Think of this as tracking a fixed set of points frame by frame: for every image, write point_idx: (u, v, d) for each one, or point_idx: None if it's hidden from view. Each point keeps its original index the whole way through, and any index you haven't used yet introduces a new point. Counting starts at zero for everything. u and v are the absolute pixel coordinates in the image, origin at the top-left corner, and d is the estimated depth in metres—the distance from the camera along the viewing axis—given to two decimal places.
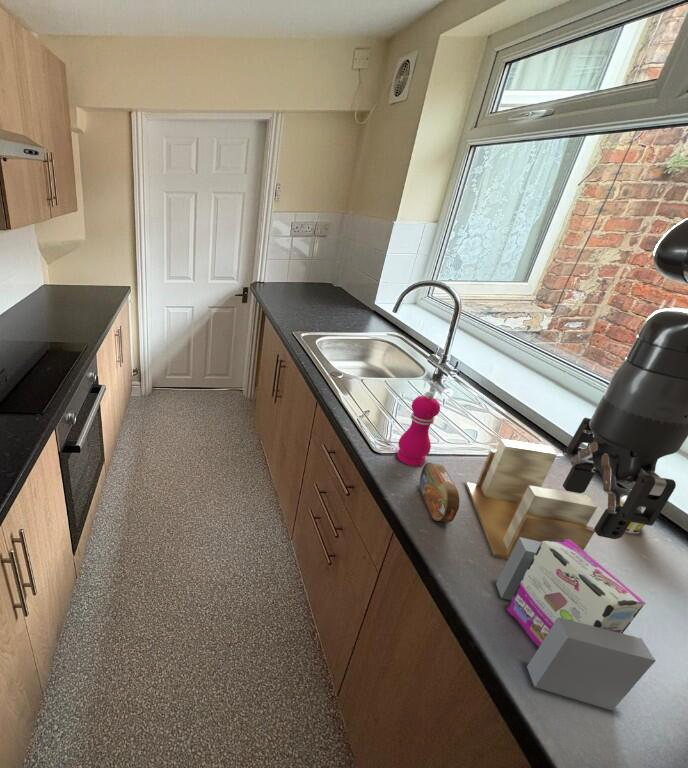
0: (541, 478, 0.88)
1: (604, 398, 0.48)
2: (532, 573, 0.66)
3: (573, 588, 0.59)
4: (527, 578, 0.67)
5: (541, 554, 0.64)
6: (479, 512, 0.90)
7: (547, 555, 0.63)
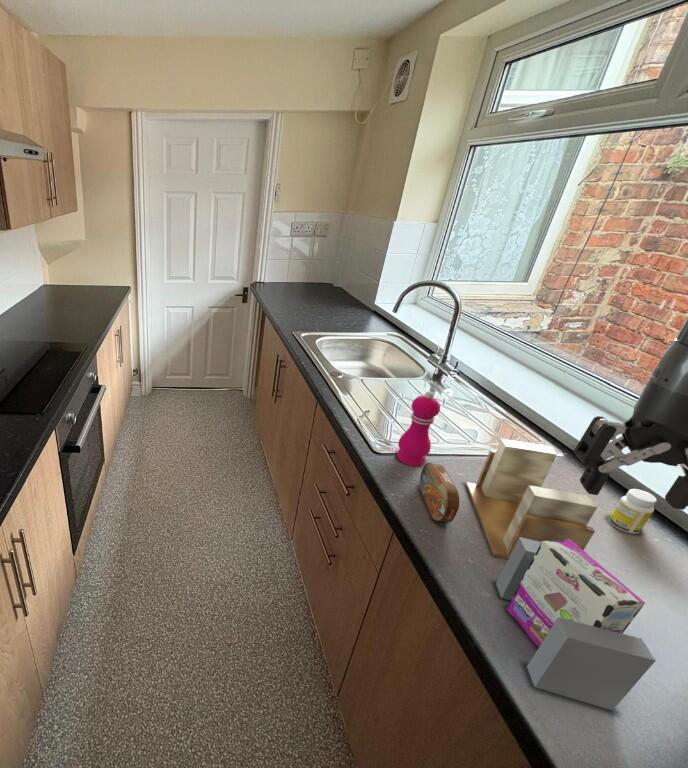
0: (541, 478, 0.88)
1: None
2: (532, 573, 0.66)
3: (573, 588, 0.59)
4: (527, 578, 0.67)
5: (541, 554, 0.64)
6: (479, 512, 0.90)
7: (547, 554, 0.63)
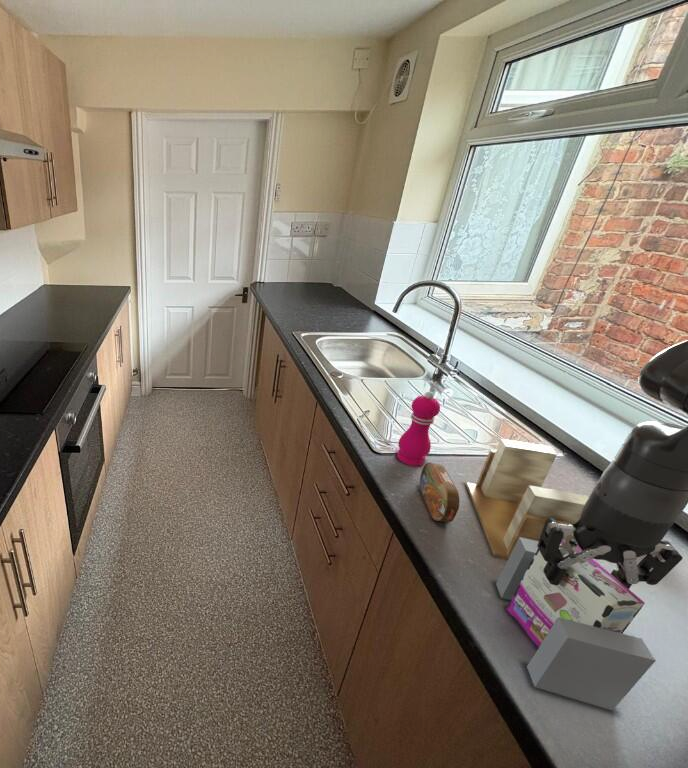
0: (541, 478, 0.88)
1: None
2: (532, 573, 0.66)
3: (572, 588, 0.59)
4: (527, 578, 0.67)
5: (541, 554, 0.64)
6: (479, 512, 0.90)
7: None
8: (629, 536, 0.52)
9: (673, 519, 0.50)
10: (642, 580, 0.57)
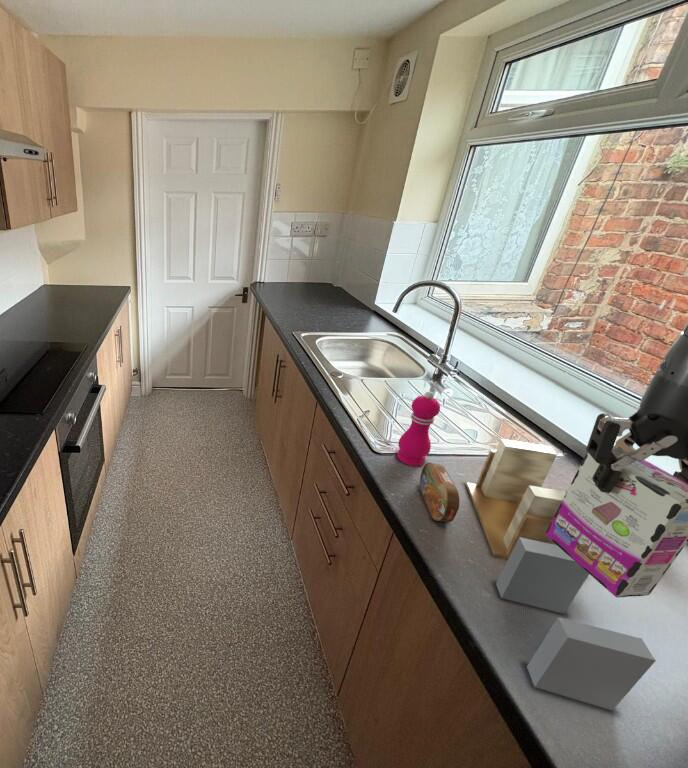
0: (541, 478, 0.88)
1: None
2: (577, 487, 0.58)
3: (628, 493, 0.52)
4: (570, 494, 0.59)
5: (588, 463, 0.57)
6: (479, 512, 0.90)
7: (596, 462, 0.56)
8: None
9: None
10: None
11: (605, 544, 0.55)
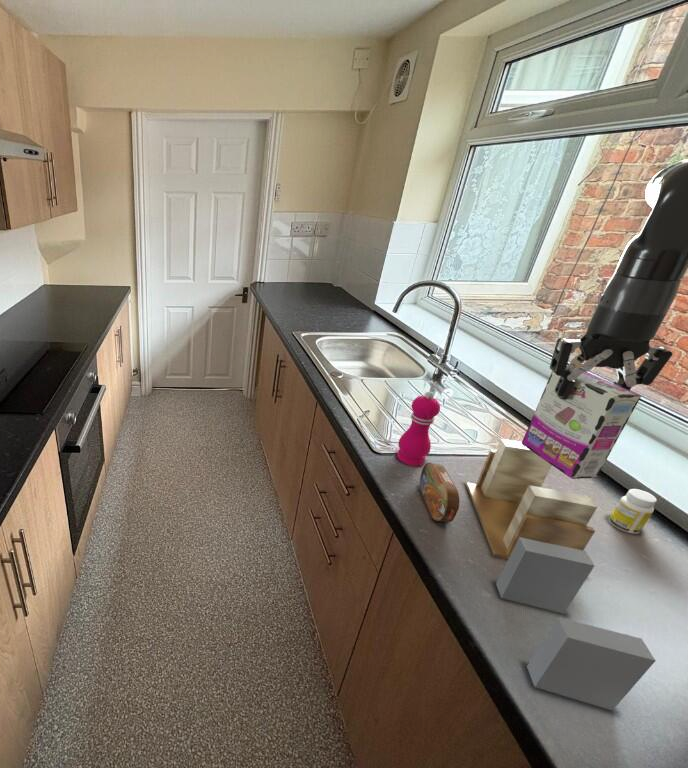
0: (541, 478, 0.88)
1: None
2: (544, 401, 0.76)
3: (580, 397, 0.70)
4: (540, 407, 0.77)
5: (552, 381, 0.74)
6: (479, 512, 0.90)
7: (558, 378, 0.73)
8: (628, 331, 0.62)
9: (664, 310, 0.60)
10: (639, 383, 0.67)
11: (564, 440, 0.73)
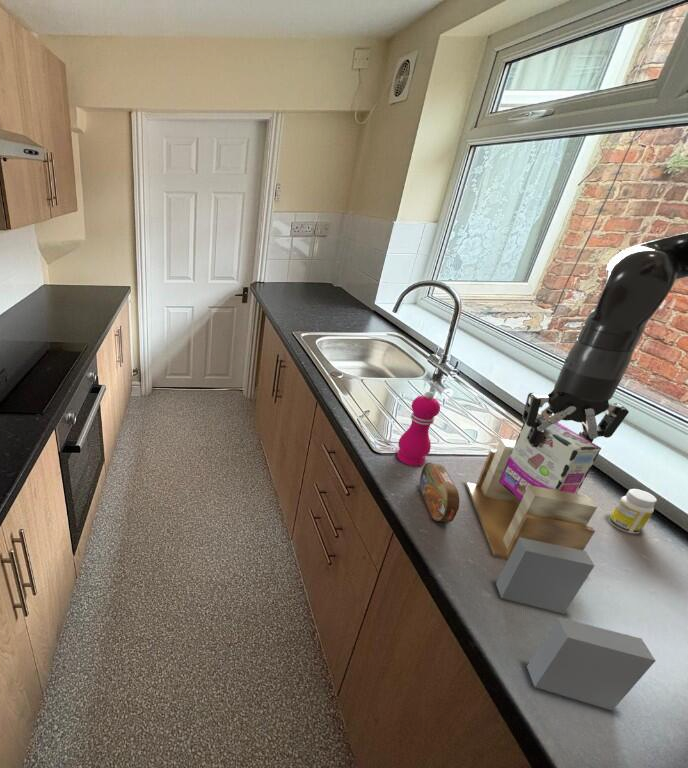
0: None
1: None
2: (518, 445, 0.84)
3: (548, 446, 0.77)
4: (515, 451, 0.85)
5: (525, 428, 0.82)
6: (479, 512, 0.90)
7: (530, 427, 0.81)
8: (588, 393, 0.70)
9: (619, 376, 0.68)
10: (600, 435, 0.74)
11: (535, 483, 0.80)
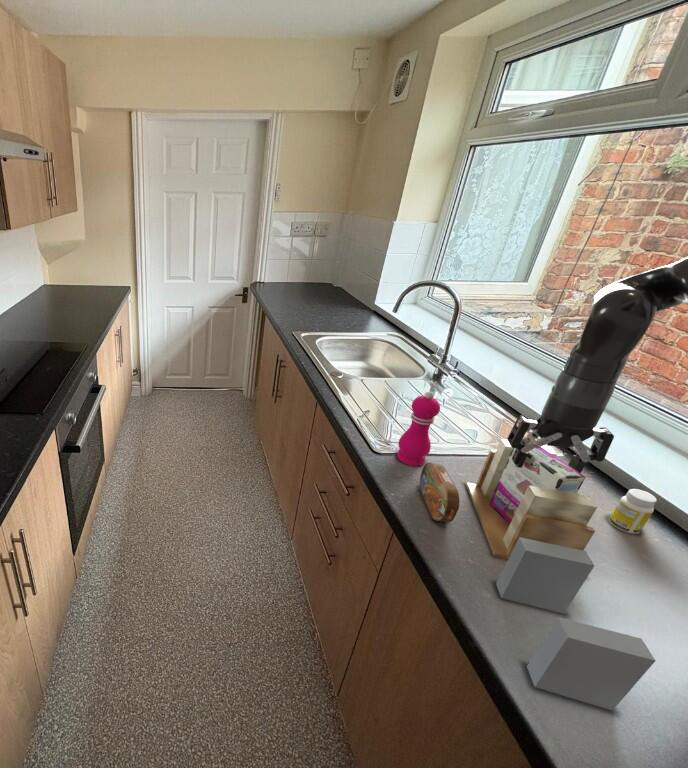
0: None
1: None
2: (507, 470, 0.86)
3: (535, 473, 0.80)
4: (504, 475, 0.87)
5: None
6: (479, 512, 0.90)
7: None
8: (573, 421, 0.72)
9: (602, 406, 0.70)
10: (593, 459, 0.77)
11: None
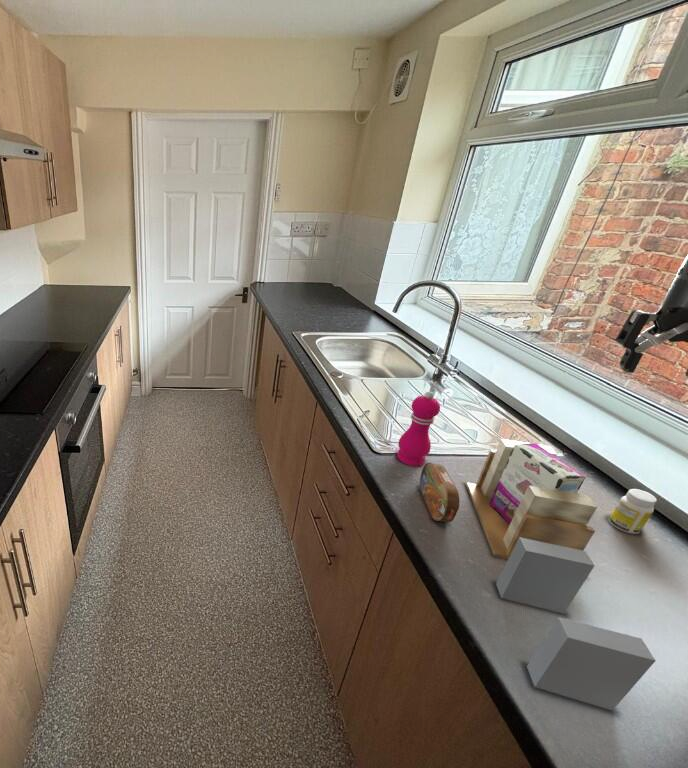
0: None
1: None
2: (507, 470, 0.86)
3: (535, 473, 0.80)
4: (504, 475, 0.87)
5: (514, 454, 0.85)
6: (479, 512, 0.90)
7: (518, 453, 0.84)
8: None
9: None
10: None
11: None
